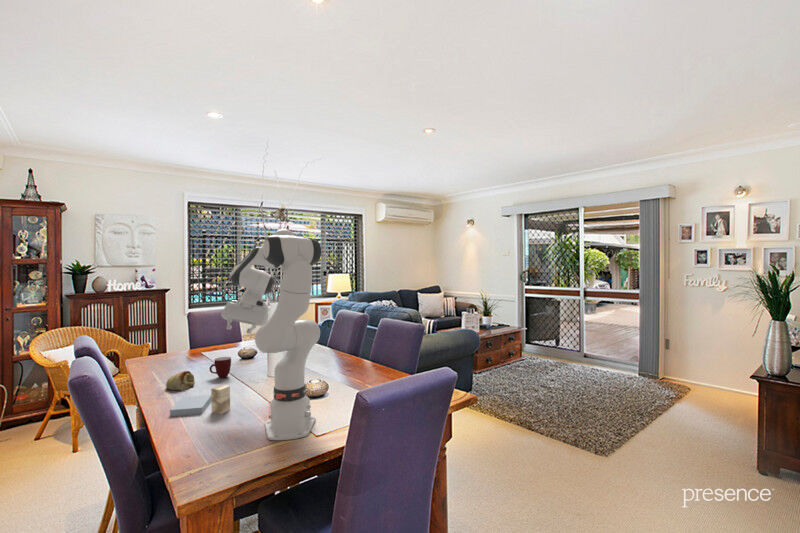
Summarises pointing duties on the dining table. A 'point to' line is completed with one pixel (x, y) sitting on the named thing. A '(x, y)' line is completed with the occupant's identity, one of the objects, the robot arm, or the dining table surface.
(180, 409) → the base plate
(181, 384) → the pastry
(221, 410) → the maple block
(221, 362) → the mug
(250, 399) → the dining table surface
